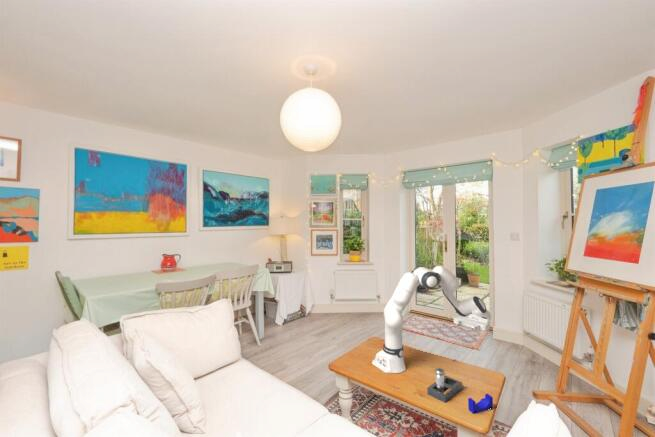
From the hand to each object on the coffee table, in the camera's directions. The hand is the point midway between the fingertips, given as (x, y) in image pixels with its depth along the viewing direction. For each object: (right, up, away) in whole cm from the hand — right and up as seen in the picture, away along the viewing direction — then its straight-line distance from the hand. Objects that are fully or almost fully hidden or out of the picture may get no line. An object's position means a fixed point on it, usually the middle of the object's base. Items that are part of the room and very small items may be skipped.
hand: (465, 326), depth 175 cm
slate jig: (-18, -30, -15) cm, 38 cm away
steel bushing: (-22, -30, -18) cm, 42 cm away
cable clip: (-7, -30, -30) cm, 43 cm away
